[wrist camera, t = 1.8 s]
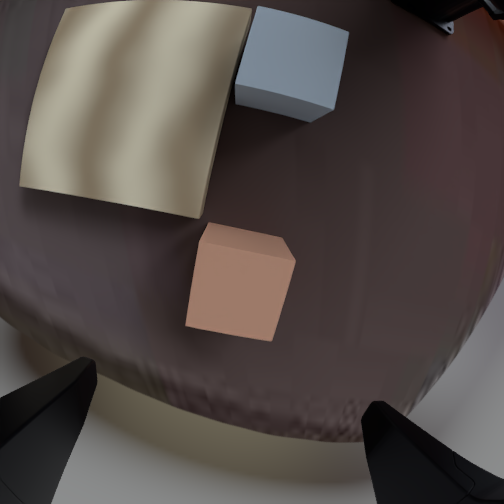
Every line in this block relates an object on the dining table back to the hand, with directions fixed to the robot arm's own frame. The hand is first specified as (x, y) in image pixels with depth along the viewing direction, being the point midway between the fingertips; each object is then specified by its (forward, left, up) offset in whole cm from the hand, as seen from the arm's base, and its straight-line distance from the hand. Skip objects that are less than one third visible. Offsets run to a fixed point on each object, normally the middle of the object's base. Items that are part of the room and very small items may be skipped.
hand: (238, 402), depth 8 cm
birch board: (+10, -10, -13) cm, 19 cm away
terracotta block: (0, 0, -13) cm, 13 cm away
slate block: (0, -13, -13) cm, 18 cm away
